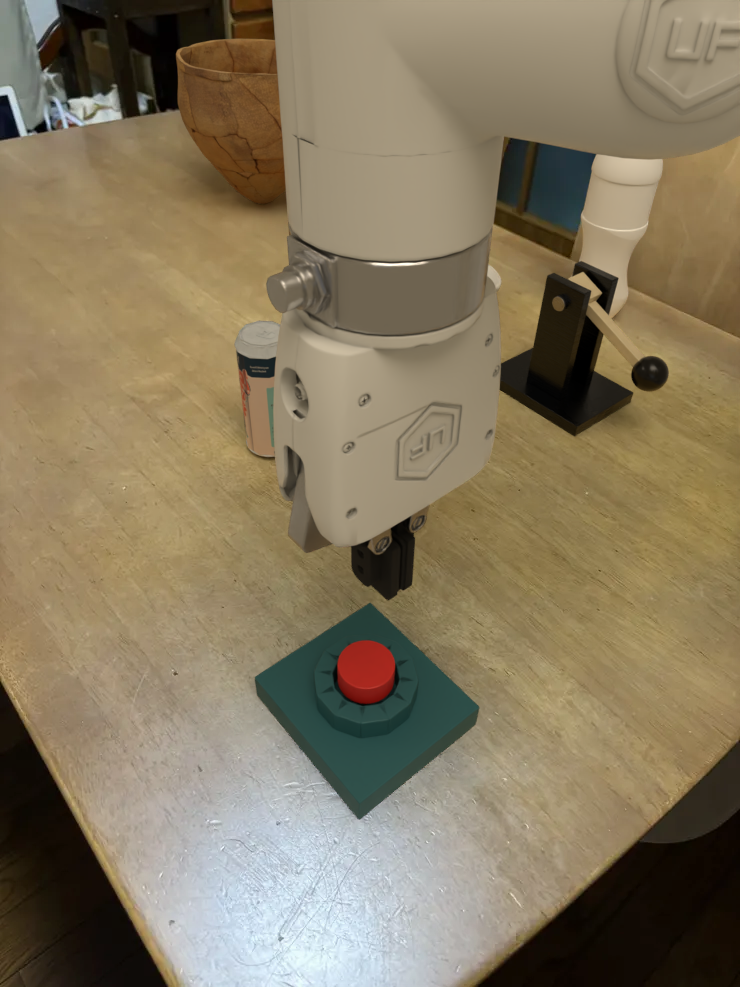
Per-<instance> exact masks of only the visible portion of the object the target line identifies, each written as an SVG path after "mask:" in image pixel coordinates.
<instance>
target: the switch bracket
mask: <svg viewBox="0 0 740 987" xmlns="http://www.w3.org/2000/svg"><path fill="white" fill-rule="evenodd" d="M582 272H584V273H585V274H586V275H587V277H588V278H589V279H590V280H591V281H592V282H593V283H594V284H595V285H596V287H597V288H598V289H599V290H600V291H601V292H602V294H601V295H600V297H599V298H598V299H597V300H596V302H597V303H598V304H599V305H600V306H601V307H602V309H603V310H604V311H605V312H606V313H607V314H608V315H609V313H610V309H611V305H612V302H613V298H614V294H615V290H616V286H617V283H618V279H619V278H618V277H616V276H613V275H611V274H609V273H607V272H605V271H602V270H600V269H598V268H596V267H594V266H591V265H589V264H587V263H585V262H583V261H580V262H579V261H578V262H575V263H574V266H573V270H572V274H571V276H572V277H573V276H575V275H577V274H579V273H582ZM590 296H591V290H589V289H587V288H585V287H583V286H581V285H579V284H576V283H574V282H572V281H570V280H568V278H566V277H564V276H562V275H560V274H558V273H556V272H552V273H550V274H548V275H546V280H545V285H544V289H543V294H542V299H541V304H540V311H539V315H538V319H537V326H536V331H535V335H534V341H533V346H532V347H531V348H529V349H527V350H524V351H523V352H521V353H519V354H517V355H514V356H513V357H511V358H509V359H507V360H505V361H503V362H501V374H500V390H499V391H501V392H503V393H504V394H506V395H508V396H509V397H511V398H513V399H514V400H516V401H517V402H519V403H521V404H522V405H523V406H525V407H527V408H529V409H530V410H531V411H532V412H535V413H537V414H538V415H540V416H541V417H543V418H545V419H546V420H548V421H549V422H551V423H553V424H554V425H556V426H557V427H559V428H561V429H563V430H564V431H565V432H568V433H569V434H570V435H572V436H573V437H577V435H579V434H580V433H582V432H584V431H585V430H587V429H589V428H591V427H592V426H594V425H596V424H598V422H600V421H602V420H603V419H605V418H607V417H609V416H611V415H613V413H616V412H617V411H618V410H620V409H622V408H623V407H625V406H626V405H628V404H630V403H631V402H632V399H633V396H634V392H633V390H632V391H631V390H630V389H629V388H626V387H624V386H623V385H620V384H618V383H617V382H615V381H614V380H612V379H610V378H608V377H607V376H605V375H602V374H600V373H599V372H597V371H595V369H596V365H597V362H598V358H599V354H600V351H601V347H602V343H603V339H604V336H605V335H604V334H603V333H602V332H601V331H600V330H599V329H598V327H597V326H596V325H595V324H594V323H593V322H592V321H591V320H590V318H589V317H588V316H587V315H586V312H587V308H588V304H589V300H590Z"/></svg>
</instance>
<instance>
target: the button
mask: <svg viewBox="0 0 740 987" xmlns="http://www.w3.org/2000/svg"><path fill="white" fill-rule="evenodd" d="M337 671H338V685H339V688H340V690H341V691H342V693H343V694H344V695H345V696H346V697H347V698H349V699H350V700H352V701H354V702H357V703H362V704H371V703H375V702H378V701H380V700H382V699H384V698H385V697H386V696H387V695H388V694H389V693H390V691H391V690H392V688H393V685H394V676H395V660H394V657H393V655H392V653H391V652H390V651H389V650H388V649H387V648H386V647H385V646H383V645H382V644H380V643H377V642H374V641H368V640H364V641H358V642H355V643H352V644H350V645H349V646H347V647H346V648H345V649H344V650H343V651H342V652H341V654H340V656H339V658H338V664H337Z"/></svg>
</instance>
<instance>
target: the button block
mask: <svg viewBox="0 0 740 987" xmlns="http://www.w3.org/2000/svg"><path fill="white" fill-rule="evenodd" d="M364 640H368V641H374V642H377V643H380V644H382V645H383V646H385V647H386V648H387V649H388V650H389V651H390V652H391V653H392V655H393V657H394V660H395V676H394V685H393V688H392V690H391V691H390V693H389V694H388V695H387V696H386V697H385V698H384V699H382V700H380V701H378V702H375V703H371V704H362V703H357V702H354V701H352V700H350V699H349V698H347V697H346V696H345V695H344V694H343V693H342V691H341V690H340V688H339V685H338V671H337V664H338V658H339V656H340V654H341V652H342V651H343V650H344V649H345V648H346V647H347V646H349V645H350V644H352V643H355V642H358V641H364ZM253 678H254V683H255V690H256V696H257V697H258V699H259V700H260V701H261V702H262V703H263V704H264V705H265V707H266V708H267V709H268V710H269V712H270V713H271V714H272V716H273V717H274V718H275V719H276V720H277V722H278V723H279V724H280V725H281V726H282V728H283V729H284V730H285V732H286V733H287V734H288V735H289V736H290V737H291V738H292V740H293V741H294V742H295V743H296V745H297V746H298V747H299V748H300V750H301V751H302V752H303V753H304V755H305V756H306V757H307V758H308V760H309V761H310V762H311V763H312V764H313V765H314V767H315V768H316V769H317V770H318V772H319V773H320V774H321V775H322V777H323V778H324V779H325V781H326V782H327V783H328V784H329V785H330V786H331V788H332V789H333V790H334V791H335V792H336V794H337V795H338V796H339V798H340V799H341V800H342V801H343V802H344V803H345V805H346V806H347V807H348V808H349V810H350V811H351V812H352V813H353V815H354V816H355V817H356V818H357V819H358V820H361V819H362V818H364V816H366V815H367V814H368V813H369V812H371V811H372V810H373V809H374V808H376V807H377V806H378V805H379V804H380V803H382V802H383V801H384V800H385V799H387V798H388V797H389V796H390V795H392V794H393V793H394V792H395V791H397V790H398V789H399V788H400V787H401V786H403V785H404V784H405V783H406V782H407V781H409V780H410V779H411V778H412V777H413V776H415V775H416V774H417V773H419V771H421V770H423V769H424V768H425V767H426V766H428V764H429V763H431V762H432V761H433V760H434V759H436V758H437V757H438V756H440V754H442V753H443V752H445V750H447V749H448V748H449V747H450V746H451V745H453V744H454V743H455V742H457V741H458V740H459V739H460V738H461V737H463V736H464V735H465V734H466V733H467V732H469V731H470V730H471V729H472V728H473V727H474V726H475V727H476V724H477V720H478V717H479V716H478V715H479V712H480V706H479V704H477V703H476V702H475V701H474V700H473V699H472V698H471V697H470V696H469V695H468V694H467V693H466V692H465V691H464V690H462V689H461V687H459V686H458V684H456V683H455V682H454V681H453V680H452V679H451V678H450V677H449V676H448V675H447V674H446V673H445V672H444V671H443V670H442V669H440V668H439V667H438V665H437V664H436V663H435V662H433V661H432V660H431V659H430V658H429V657H428V656H427V655H426V654H425V653H424V652H423V651H422V650H421V649H420V648H419V647H418V646H417V645H415V643H414V642H412V641H411V640H410V639H409V637H407V636H406V635H405V634H404V633H403V632H402V631H401V630H400V629H399V628H398V627H397V626H396V625H394V624H393V622H391V620H390V619H389V618H387V617H386V616H385V615H384V614H383V613H382V612H381V611H380V610H379V609H378V608H377V607H376V606H375V605H374V604H373V603H372V602H369V603H367V604H365V605H363V606H362V607H360V608H359V609H358V610H356V611H355V612H353V613H352V614H350V615H349V616H346V617H345V618H344V619H342V620H341V621H339V622H338V623H336V624H335V625H333V626H331V627H330V628H328V629H326V630H325V631H323V632H322V633H320V634H319V635H317V636H316V637H314V638H313V639H311V640H310V641H308V642H306V643H305V644H304V645H302V646H300V647H298V648H297V649H296V650H293V651H292V652H291V653H289V654H288V655H286V656H285V657H283V658H281V659H280V660H279V661H277V662H275V663H274V664H273V665H270V666H269V667H267V668H266V669H264V670H263V671H261V672H260V673H258V674H256V675H255V676H254V677H253Z"/></svg>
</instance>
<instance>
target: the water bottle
mask: <svg viewBox="0 0 740 987" xmlns="http://www.w3.org/2000/svg"><path fill="white" fill-rule="evenodd" d="M663 160H664V159H654V160H645V159H628V158H619V157H613V156H606V155H600V154H595V157H594V159H593V162H592V165H591V167H590V168H591V170H590V171H591V174H590V177H589V178H590V179H589V183H588V187H587V190H586V196H585V201H584V206H583V210H582V211H581V213H580V222H581V227H582V246H581V252H580V256H579V260H578V262H580V261H583V262H585V263H587V264H589V265H591V266H594V267H596V268H598V269H600V270H602V271H605V272H607V273H609V274H611V275H613V276H616V277H618V278H619V279H618V283H617V286H616V290H615V294H614V298H613V302H612V305H611V309H610V313H609V316H610V318H611V319H613V318H614V317H615V316H616V315H617V314H619V312H620V311H621V310H622V309H623V307H624V306H625V305H626V302H627V300H628V297H629V293H630V292H629V286H628V269H629V262H630V259H631V257H632V254H633V253H634V250H635V248H636V247H637V245H638V243H639V241H640V240H641V239H642V238H643V237H644V235H645V234H646V232H647V231H648V230H647V229H648V226H649V217H650V214H651V211H652V207H653V203H654V200H655V196H656V192H657V189H658V186H659V182H660V180H661V178H662V175H663V169H664V162H663ZM571 277H572V275H571V276H570V277H569V278H571Z"/></svg>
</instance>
